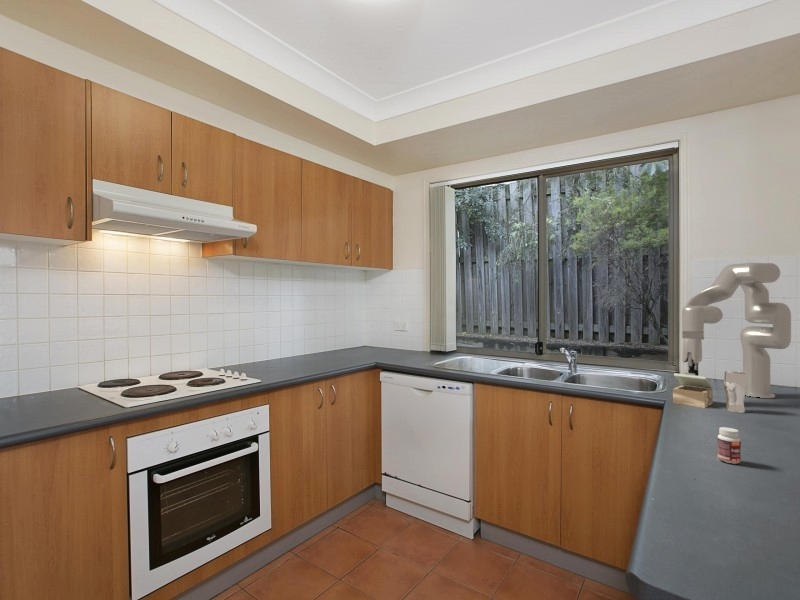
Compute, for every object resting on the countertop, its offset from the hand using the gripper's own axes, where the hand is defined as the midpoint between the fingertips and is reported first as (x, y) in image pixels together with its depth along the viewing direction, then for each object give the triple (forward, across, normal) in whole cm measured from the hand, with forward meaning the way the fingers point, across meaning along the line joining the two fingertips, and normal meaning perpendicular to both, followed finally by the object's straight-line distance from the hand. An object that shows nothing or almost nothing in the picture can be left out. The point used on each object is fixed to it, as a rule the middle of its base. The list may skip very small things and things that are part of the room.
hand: (693, 379), depth 176 cm
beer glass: (+10, +4, +15) cm, 18 cm away
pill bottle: (+10, +72, +26) cm, 77 cm away
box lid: (+1, +1, 0) cm, 1 cm away
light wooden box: (+10, +2, 0) cm, 10 cm away
